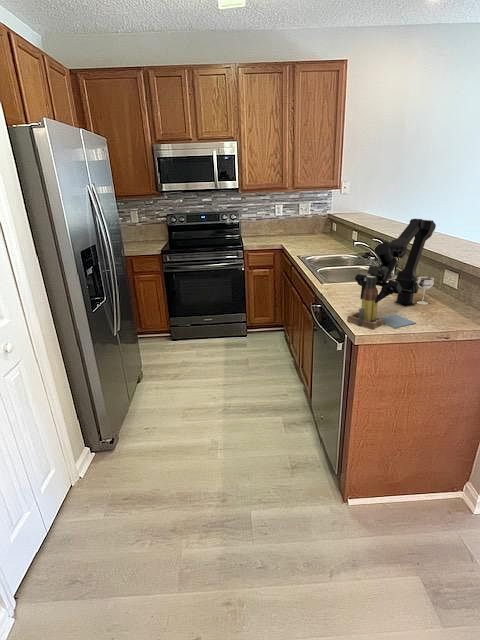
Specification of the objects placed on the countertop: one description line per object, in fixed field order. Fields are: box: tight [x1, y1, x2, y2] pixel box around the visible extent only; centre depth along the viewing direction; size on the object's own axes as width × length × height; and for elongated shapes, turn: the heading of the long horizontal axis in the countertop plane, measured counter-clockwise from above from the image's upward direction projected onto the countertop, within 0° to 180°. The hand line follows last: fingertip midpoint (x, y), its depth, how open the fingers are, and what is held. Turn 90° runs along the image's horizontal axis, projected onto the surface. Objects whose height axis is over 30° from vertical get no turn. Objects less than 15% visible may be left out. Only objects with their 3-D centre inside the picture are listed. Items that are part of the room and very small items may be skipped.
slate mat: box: [376, 313, 417, 329], centre depth 153 cm, size 11×11×1 cm
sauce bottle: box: [361, 274, 379, 322], centre depth 150 cm, size 6×6×20 cm
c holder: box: [346, 307, 384, 330], centre depth 151 cm, size 8×12×7 cm, turn 41°
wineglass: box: [416, 275, 435, 306], centre depth 171 cm, size 7×7×12 cm
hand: (368, 300), depth 149 cm, fingers closed on sauce bottle, 6 cm apart
